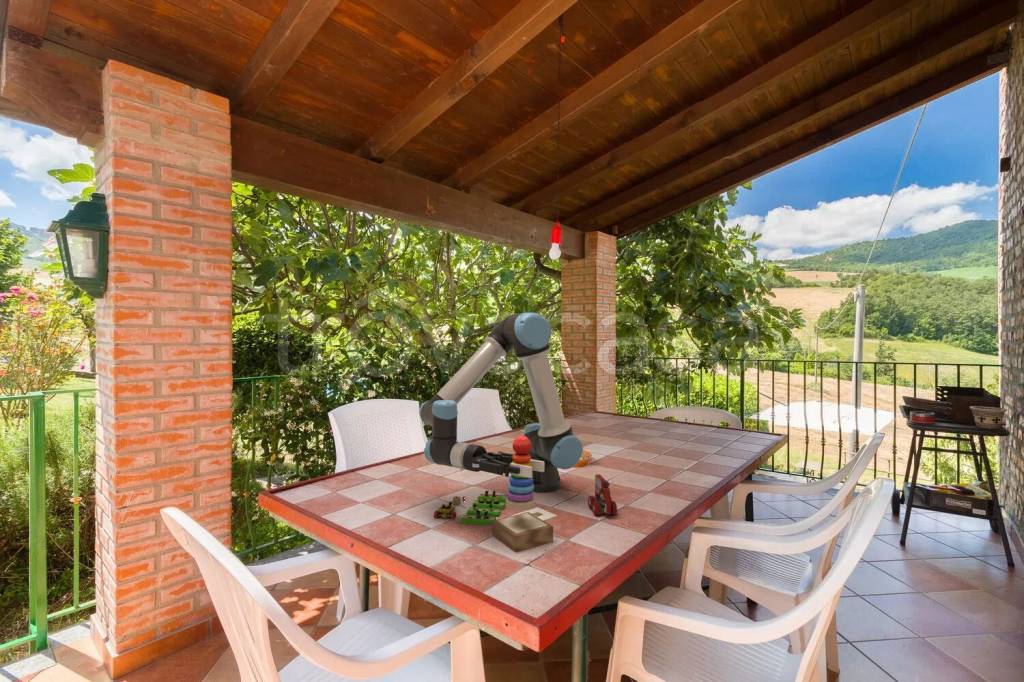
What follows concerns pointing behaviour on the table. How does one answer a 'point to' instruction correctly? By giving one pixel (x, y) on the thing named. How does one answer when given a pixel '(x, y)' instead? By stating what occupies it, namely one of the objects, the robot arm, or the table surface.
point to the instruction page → (539, 513)
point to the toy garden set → (476, 509)
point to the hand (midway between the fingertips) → (537, 469)
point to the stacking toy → (521, 477)
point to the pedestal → (522, 531)
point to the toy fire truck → (602, 498)
